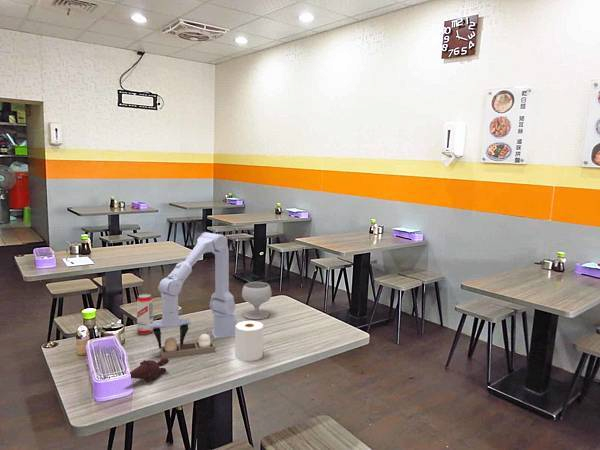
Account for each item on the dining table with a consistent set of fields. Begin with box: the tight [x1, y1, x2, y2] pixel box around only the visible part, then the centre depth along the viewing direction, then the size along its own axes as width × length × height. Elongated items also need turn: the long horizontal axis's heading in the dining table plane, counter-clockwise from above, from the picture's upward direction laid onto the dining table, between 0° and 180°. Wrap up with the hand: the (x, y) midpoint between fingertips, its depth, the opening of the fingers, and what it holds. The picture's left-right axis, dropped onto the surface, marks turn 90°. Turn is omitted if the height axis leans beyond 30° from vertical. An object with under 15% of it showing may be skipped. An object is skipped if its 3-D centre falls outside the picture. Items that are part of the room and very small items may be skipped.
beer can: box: [136, 293, 154, 336], centre depth 183 cm, size 6×6×16 cm
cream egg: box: [198, 333, 211, 348], centre depth 167 cm, size 4×4×6 cm
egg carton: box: [159, 339, 216, 360], centre depth 165 cm, size 20×7×2 cm, turn 112°
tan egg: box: [163, 337, 178, 353], centre depth 162 cm, size 4×4×6 cm
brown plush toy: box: [129, 358, 170, 383], centre depth 143 cm, size 7×7×15 cm
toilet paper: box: [234, 320, 264, 362], centre depth 163 cm, size 10×10×12 cm
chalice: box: [241, 281, 273, 320], centre depth 207 cm, size 14×14×15 cm
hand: (170, 345), depth 162 cm, fingers open, 7 cm apart
